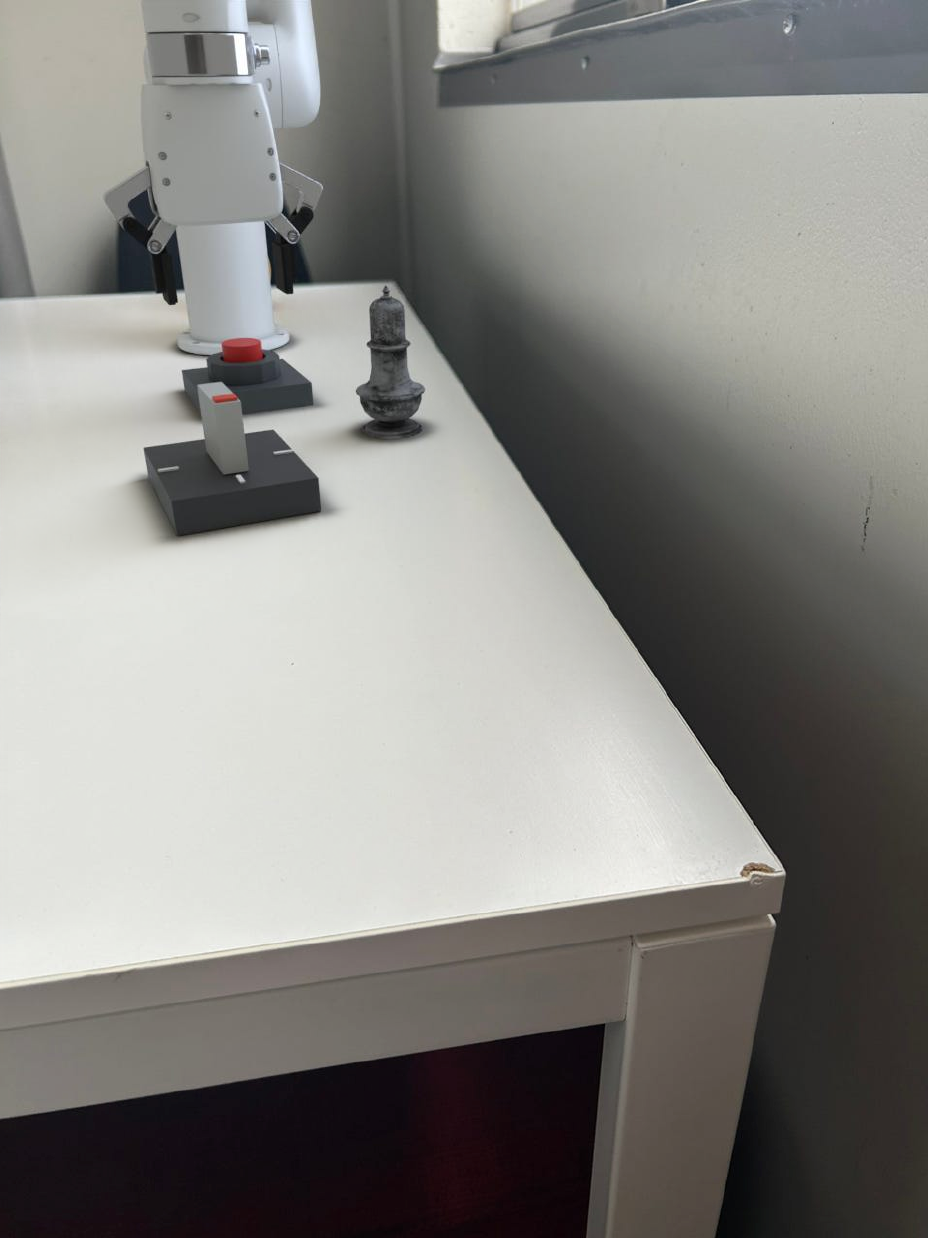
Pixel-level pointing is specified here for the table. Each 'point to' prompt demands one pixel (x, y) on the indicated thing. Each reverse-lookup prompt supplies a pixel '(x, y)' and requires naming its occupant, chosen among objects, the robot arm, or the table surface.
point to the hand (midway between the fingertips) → (228, 296)
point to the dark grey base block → (231, 484)
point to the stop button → (242, 350)
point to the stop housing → (253, 382)
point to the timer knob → (223, 427)
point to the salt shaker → (389, 374)
